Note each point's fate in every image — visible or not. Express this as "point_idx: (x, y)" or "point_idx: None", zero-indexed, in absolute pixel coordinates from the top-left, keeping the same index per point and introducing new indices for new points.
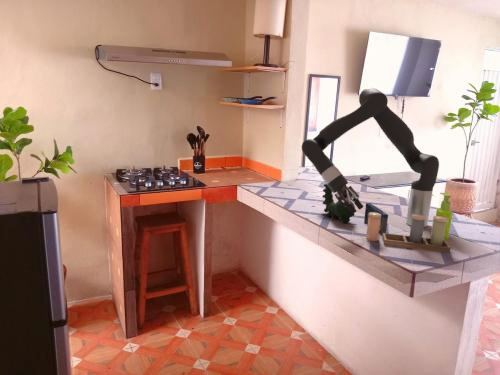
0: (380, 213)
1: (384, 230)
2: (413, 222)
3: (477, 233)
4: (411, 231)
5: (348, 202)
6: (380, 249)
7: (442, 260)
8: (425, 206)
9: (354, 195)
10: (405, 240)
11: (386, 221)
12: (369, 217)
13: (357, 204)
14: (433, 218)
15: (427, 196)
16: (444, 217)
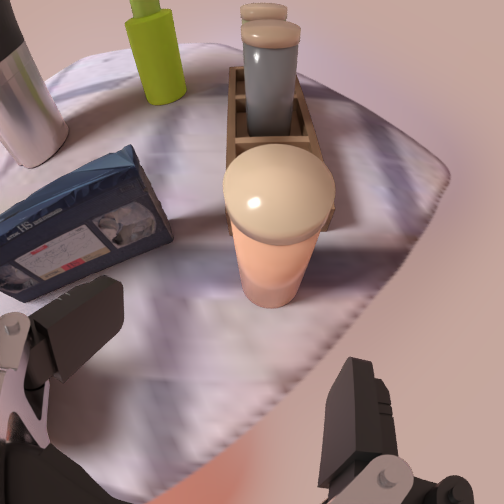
0: (101, 182)
1: (161, 209)
2: (290, 60)
3: (111, 62)
4: (284, 96)
5: (406, 489)
6: (344, 243)
7: (330, 100)
8: (41, 81)
9: (7, 386)
10: (293, 139)
11: (145, 175)
12: (306, 237)
13: (84, 341)
14: (266, 16)
15: (30, 55)
16: (252, 4)
